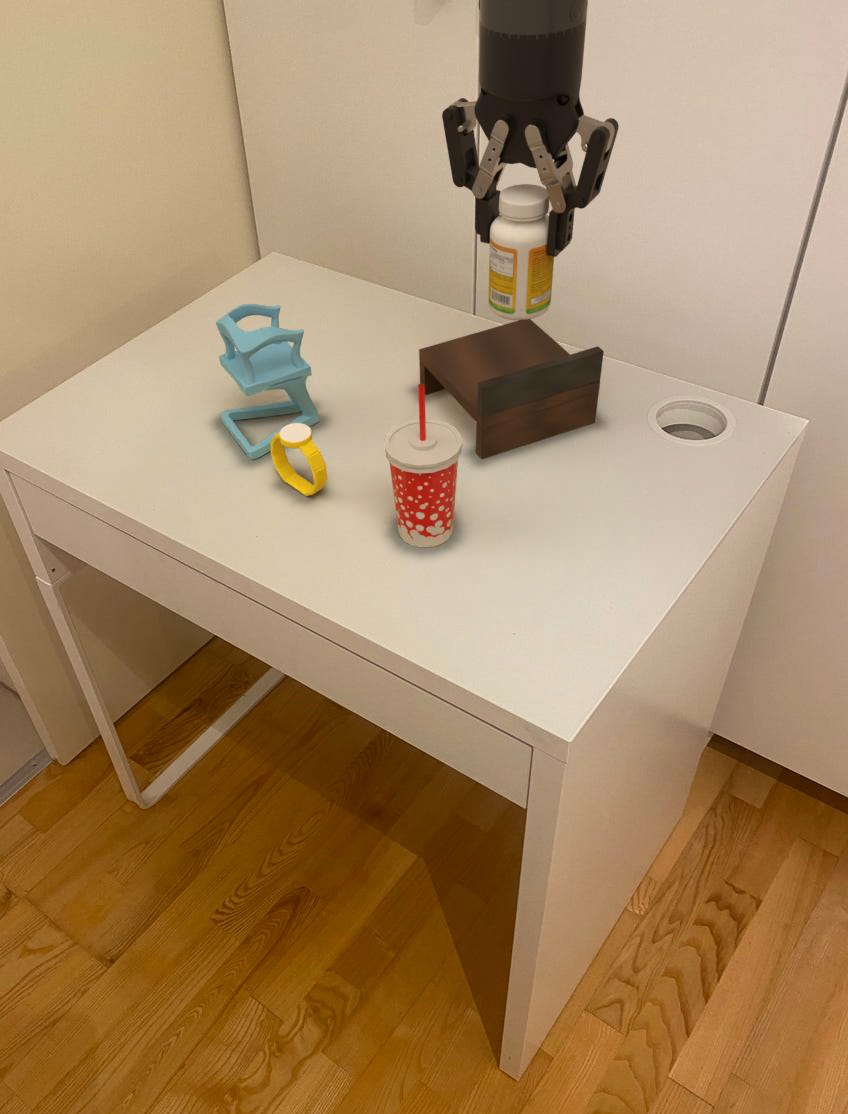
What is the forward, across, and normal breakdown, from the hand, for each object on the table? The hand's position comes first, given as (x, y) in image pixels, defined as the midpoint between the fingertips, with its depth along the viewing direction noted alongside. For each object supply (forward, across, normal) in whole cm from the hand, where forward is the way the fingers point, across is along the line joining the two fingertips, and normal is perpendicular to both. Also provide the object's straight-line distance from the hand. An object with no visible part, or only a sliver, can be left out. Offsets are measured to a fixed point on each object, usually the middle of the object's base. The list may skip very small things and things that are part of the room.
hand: (521, 245), depth 82 cm
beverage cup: (+17, -1, +18) cm, 25 cm away
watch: (+17, +12, +18) cm, 28 cm away
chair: (+17, +20, +12) cm, 28 cm away
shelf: (+17, +1, -1) cm, 17 cm away
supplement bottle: (+6, 0, 0) cm, 6 cm away
